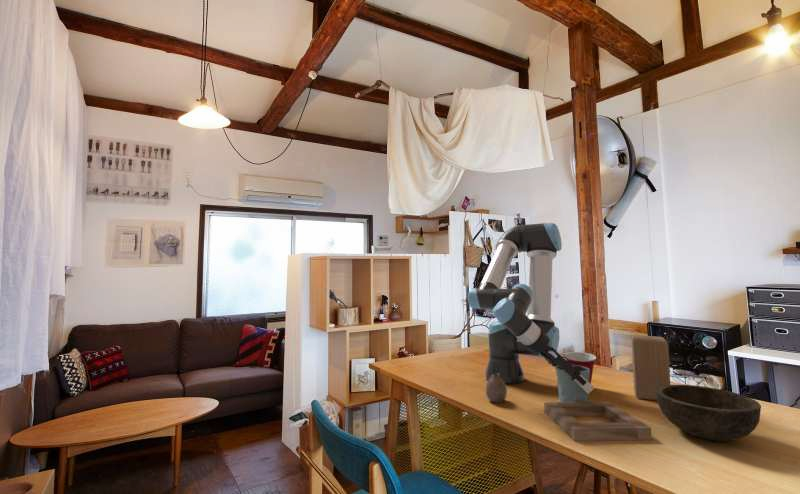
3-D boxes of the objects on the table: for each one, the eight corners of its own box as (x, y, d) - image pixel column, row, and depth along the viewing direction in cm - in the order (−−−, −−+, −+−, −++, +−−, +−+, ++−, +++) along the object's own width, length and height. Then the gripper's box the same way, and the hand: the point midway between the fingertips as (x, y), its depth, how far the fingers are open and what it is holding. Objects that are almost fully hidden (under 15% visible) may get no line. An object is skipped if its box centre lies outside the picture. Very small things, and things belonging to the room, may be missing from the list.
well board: (544, 412, 119) (544, 402, 119) (608, 411, 119) (608, 401, 119) (574, 440, 99) (573, 428, 99) (651, 439, 99) (650, 427, 99)
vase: (493, 396, 135) (492, 370, 135) (510, 400, 130) (510, 374, 130) (481, 401, 130) (481, 374, 130) (500, 406, 125) (499, 378, 125)
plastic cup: (565, 390, 140) (564, 357, 141) (565, 382, 150) (564, 351, 151) (599, 393, 136) (597, 359, 137) (596, 385, 146) (594, 353, 147)
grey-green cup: (553, 406, 124) (552, 368, 124) (560, 398, 132) (559, 362, 133) (588, 413, 118) (586, 373, 119) (593, 403, 126) (592, 366, 127)
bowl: (786, 447, 94) (783, 405, 94) (722, 461, 88) (719, 416, 88) (695, 415, 115) (693, 381, 115) (638, 425, 108) (636, 388, 109)
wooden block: (635, 399, 130) (632, 339, 131) (633, 390, 139) (631, 334, 140) (671, 403, 125) (668, 341, 127) (667, 394, 134) (664, 336, 135)
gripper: (513, 339, 138) (557, 381, 137) (538, 354, 114) (592, 405, 113) (528, 324, 139) (571, 366, 138) (556, 335, 114) (609, 387, 113)
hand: (580, 384), depth 125 cm, fingers open, 12 cm apart
